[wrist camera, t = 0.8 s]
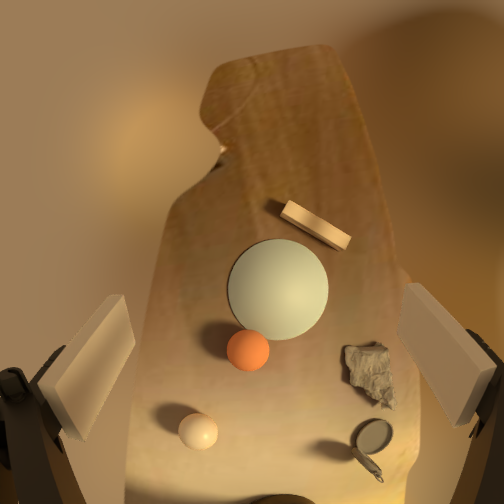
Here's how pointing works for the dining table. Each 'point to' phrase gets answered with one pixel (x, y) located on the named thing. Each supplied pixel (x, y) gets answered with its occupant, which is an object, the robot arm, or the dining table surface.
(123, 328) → the robot arm
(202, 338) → the dining table surface
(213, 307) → the dining table surface
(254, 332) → the object ball
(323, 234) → the birch rail
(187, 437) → the cue ball
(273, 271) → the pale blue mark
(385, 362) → the mineral specimen
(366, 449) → the pocket watch
